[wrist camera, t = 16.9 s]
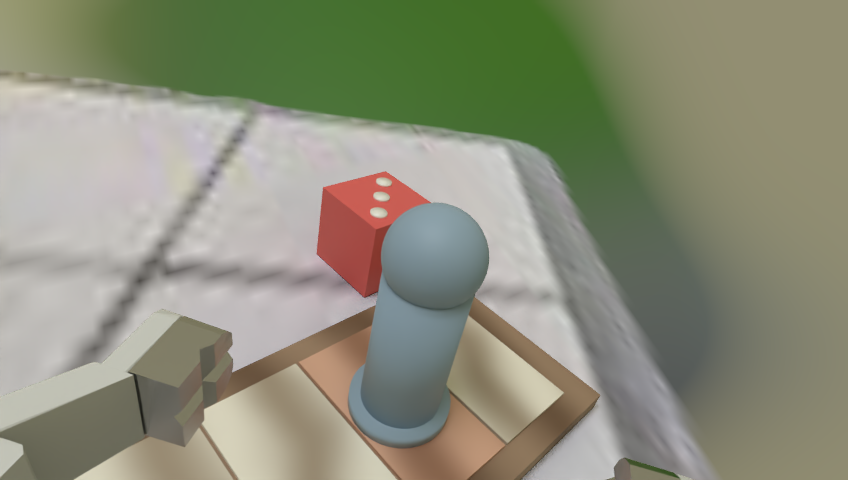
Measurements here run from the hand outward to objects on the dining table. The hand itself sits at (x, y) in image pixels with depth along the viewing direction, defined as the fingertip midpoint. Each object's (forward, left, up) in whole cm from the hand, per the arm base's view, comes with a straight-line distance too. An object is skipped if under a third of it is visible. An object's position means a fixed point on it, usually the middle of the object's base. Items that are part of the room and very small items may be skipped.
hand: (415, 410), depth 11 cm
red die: (+18, +20, -16) cm, 31 cm away
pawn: (+10, +8, -15) cm, 19 cm away
